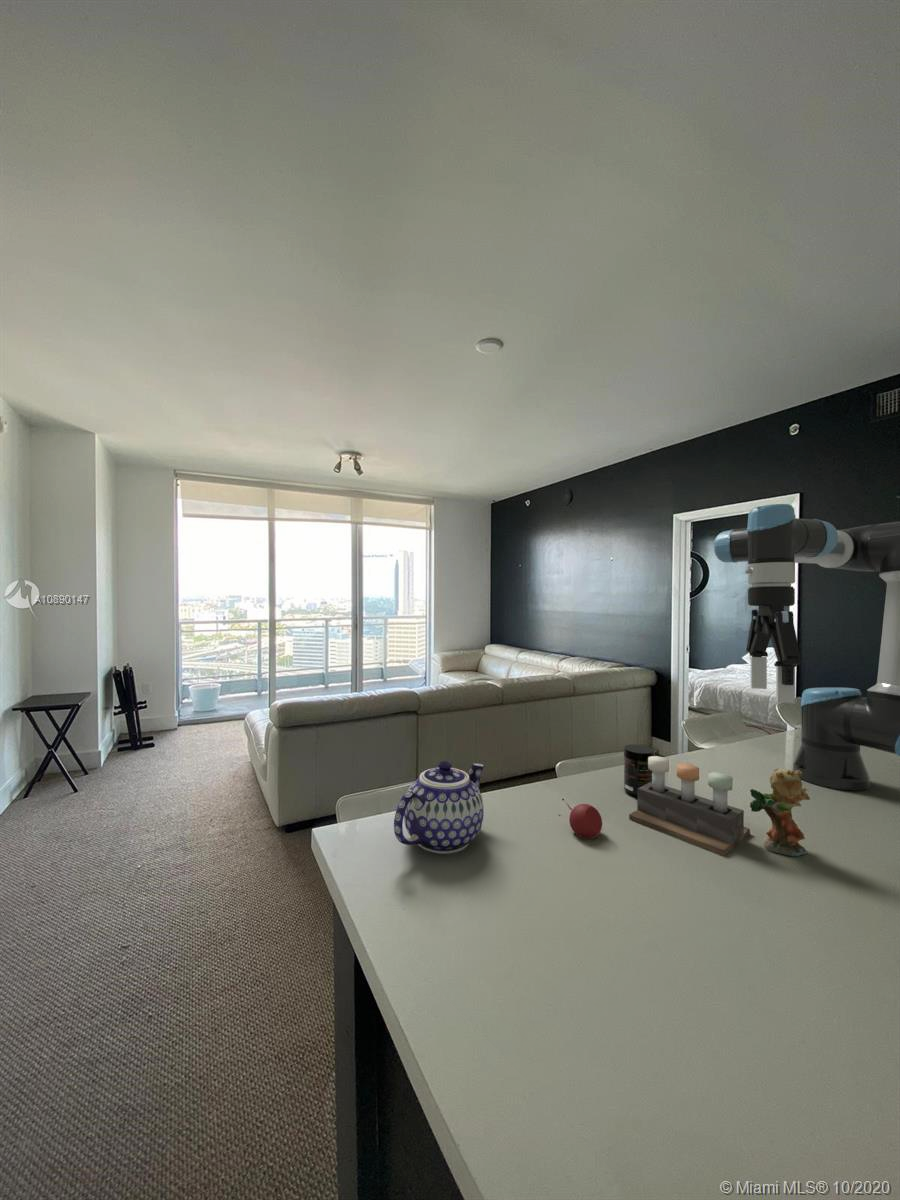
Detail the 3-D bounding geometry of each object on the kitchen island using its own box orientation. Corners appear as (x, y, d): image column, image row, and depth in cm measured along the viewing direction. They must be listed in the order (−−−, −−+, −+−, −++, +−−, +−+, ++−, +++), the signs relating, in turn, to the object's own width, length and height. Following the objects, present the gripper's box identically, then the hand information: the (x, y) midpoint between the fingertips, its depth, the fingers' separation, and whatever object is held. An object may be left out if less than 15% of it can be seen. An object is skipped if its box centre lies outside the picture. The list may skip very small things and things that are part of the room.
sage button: (713, 803, 92) (713, 770, 92) (735, 810, 89) (735, 776, 89) (704, 809, 90) (704, 775, 90) (727, 817, 86) (727, 781, 86)
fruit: (588, 835, 94) (571, 794, 97) (610, 830, 90) (592, 788, 93) (569, 845, 90) (552, 802, 93) (591, 841, 86) (573, 796, 90)
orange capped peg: (682, 794, 97) (682, 762, 97) (702, 800, 94) (702, 767, 94) (673, 799, 94) (673, 766, 94) (693, 805, 91) (693, 772, 91)
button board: (658, 802, 105) (659, 778, 105) (749, 833, 91) (750, 805, 91) (629, 819, 97) (629, 792, 97) (723, 856, 83) (724, 824, 83)
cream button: (653, 785, 101) (654, 754, 101) (672, 790, 98) (672, 759, 98) (644, 789, 99) (644, 758, 99) (663, 795, 96) (663, 764, 96)
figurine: (803, 844, 87) (803, 763, 87) (814, 864, 80) (814, 777, 80) (745, 833, 91) (745, 756, 91) (751, 852, 84) (752, 769, 84)
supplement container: (661, 795, 109) (661, 750, 109) (641, 801, 105) (642, 755, 105) (636, 785, 115) (636, 742, 115) (617, 791, 111) (617, 747, 111)
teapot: (425, 887, 74) (425, 793, 74) (365, 852, 84) (365, 770, 84) (514, 828, 93) (514, 753, 93) (457, 806, 103) (457, 738, 102)
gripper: (729, 587, 104) (730, 682, 104) (773, 584, 80) (773, 708, 80) (768, 586, 102) (769, 684, 102) (825, 583, 78) (825, 710, 78)
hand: (771, 695), depth 91 cm, fingers open, 13 cm apart
